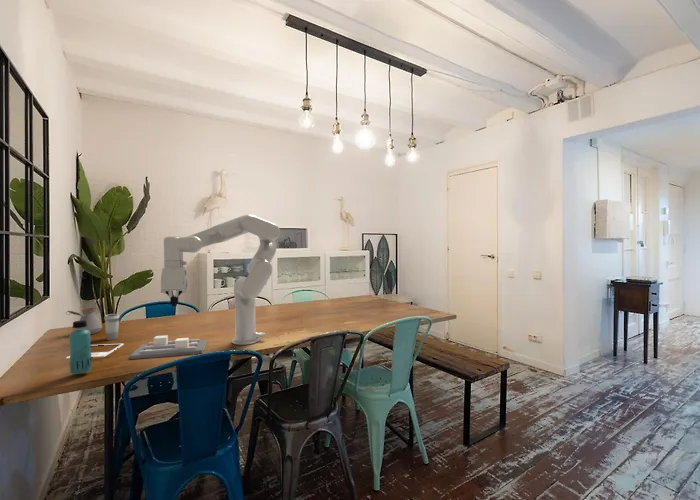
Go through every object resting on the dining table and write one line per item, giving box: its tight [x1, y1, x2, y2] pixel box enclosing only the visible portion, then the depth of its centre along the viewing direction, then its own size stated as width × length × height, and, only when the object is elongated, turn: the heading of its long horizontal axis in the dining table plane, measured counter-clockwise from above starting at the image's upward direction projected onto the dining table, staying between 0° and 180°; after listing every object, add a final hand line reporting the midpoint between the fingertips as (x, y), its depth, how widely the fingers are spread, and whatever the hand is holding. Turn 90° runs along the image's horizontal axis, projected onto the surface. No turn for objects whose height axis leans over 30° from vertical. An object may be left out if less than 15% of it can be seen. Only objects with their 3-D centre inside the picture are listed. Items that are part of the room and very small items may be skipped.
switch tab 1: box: [153, 334, 169, 346], centre depth 160 cm, size 5×4×4 cm
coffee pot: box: [65, 307, 103, 335], centre depth 182 cm, size 21×12×15 cm, turn 5°
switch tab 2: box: [174, 337, 190, 348], centre depth 156 cm, size 5×4×4 cm
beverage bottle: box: [68, 320, 92, 375], centre depth 129 cm, size 6×7×20 cm
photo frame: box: [65, 343, 124, 360], centre depth 157 cm, size 15×1×18 cm
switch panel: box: [129, 338, 208, 360], centre depth 158 cm, size 28×17×2 cm, turn 106°
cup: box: [103, 313, 120, 341], centre depth 176 cm, size 7×7×12 cm
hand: (174, 305), depth 155 cm, fingers closed
